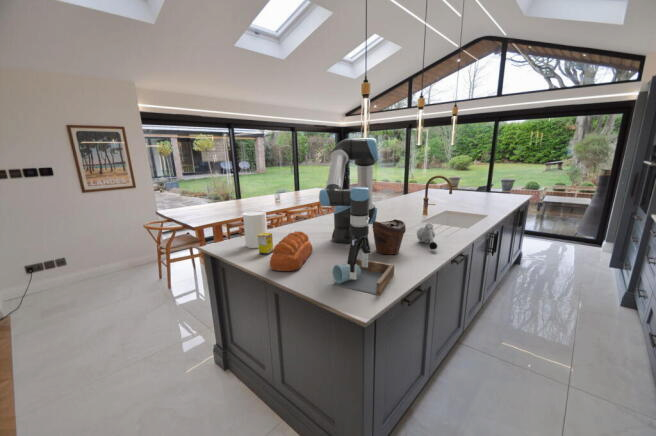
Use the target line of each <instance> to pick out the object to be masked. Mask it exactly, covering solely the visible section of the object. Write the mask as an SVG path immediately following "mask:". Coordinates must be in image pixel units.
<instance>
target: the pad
mask: <svg viewBox="0 0 656 436" xmlns="http://www.w3.org/2000/svg"><path fill="white" fill-rule="evenodd" d="M360 270H361V269H360ZM382 275H383V274H382V273H377V272H372V271H366V270H361V274H360V276H359V277H357V279H356V280H354V279H351V280H348V281H345V282H342V283H339V284H338V283H336V282H335V281H334V282H333V283H332V285H333V286H335V287H336V286H337V287H341V288H346V289H350V290H355V291H359V292H363V293H369V294H372V295H376V290H377V282H378V280H379V279H380V278H381V276H382Z"/></svg>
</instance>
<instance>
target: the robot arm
mask: <svg viewBox="0 0 656 436" xmlns="http://www.w3.org/2000/svg"><path fill="white" fill-rule="evenodd" d="M378 151H379V149H378V143H377V139H376V138H374V137H361V138H358V137H356V138H345V139H343V140H341V141H339V142H338V143H337V144H335V146H334V147H333V148H332V150H331V153H330V158H329V159H330V161H331V162H330V167H329V170H328V171H329V172H328V176H327V181H326V185H325V186H326V187H325V188H323V189H320V191H319V194H318V200H319V204H320V206H322V207H334V208H333V223H334V225H333V227H334V228H333V231H332V234H331V241H332V242H335V243H339V244H349V245H350V246H349V250H348V258H347V262H346V265H350V279H354V280H356V279H357V264H356V260H357V259H358V256H359V252H360V250H361V259H362V267H366V268H368V260H369V254H371V246H370V242H369V241H370V240H369V233H370V230H369V228H370V227H369V226H370V225H373V222H374V221H376V220H377V213H378V206H377V205H376V203H375V202H374V201H373V187H374V186H373V182H374V181H373V179H374V178H373V174H374V173H373V172H374V171H373V169H374V168H373V167H374V165H376V162H377V161H379V152H378ZM349 161H351V162H353V161H354V166H356V167H357V169H356V170H357V171H356V172H357V186H355V187H351V189H349V188H348V189H346V188H345V189H343V185H344V179H345V171H346V165H347V163H348V162H349ZM376 222H377V221H376ZM351 261H352V262H351Z"/></svg>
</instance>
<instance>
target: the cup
mask: <svg viewBox="0 0 656 436" xmlns="http://www.w3.org/2000/svg"><path fill="white" fill-rule="evenodd" d="M360 274H361V270H360V267H359V266H358V265H357V277H359V276H360ZM332 277H333V281H334V283H335V282H336V283H338V284H339V283H342V282H345V281H348V280H351V279H350V265H349V264H335V265H333V268H332Z"/></svg>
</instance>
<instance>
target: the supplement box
mask: <svg viewBox="0 0 656 436" xmlns="http://www.w3.org/2000/svg"><path fill="white" fill-rule="evenodd" d="M258 245H259V248H258V252H259V254H260V255H270V254H271V253H273V250H274V240H273V233H271V232H267V233H261V234H259V235H258Z"/></svg>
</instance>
